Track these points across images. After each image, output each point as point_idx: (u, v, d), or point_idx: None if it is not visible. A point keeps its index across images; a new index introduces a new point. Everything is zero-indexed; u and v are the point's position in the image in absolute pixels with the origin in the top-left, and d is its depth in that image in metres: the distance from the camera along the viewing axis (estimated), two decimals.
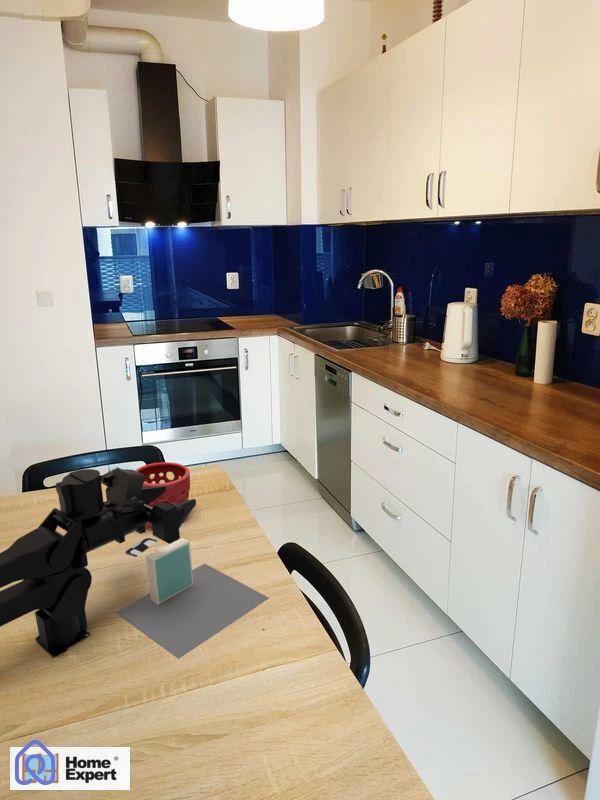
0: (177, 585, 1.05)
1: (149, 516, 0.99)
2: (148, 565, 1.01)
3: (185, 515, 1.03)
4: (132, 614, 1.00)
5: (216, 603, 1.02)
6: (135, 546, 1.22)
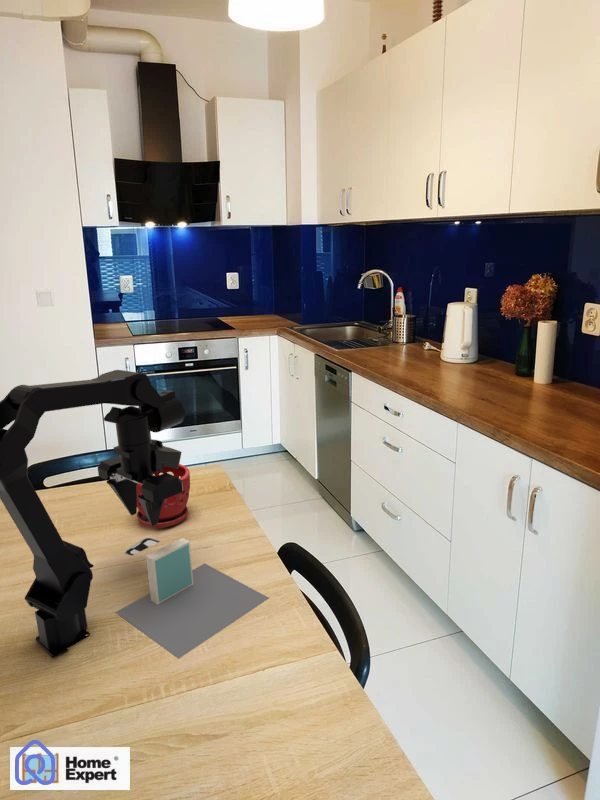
0: (177, 585, 1.05)
1: (152, 477, 1.02)
2: (148, 565, 1.01)
3: (151, 512, 1.02)
4: (132, 614, 1.00)
5: (216, 603, 1.02)
6: (135, 546, 1.22)
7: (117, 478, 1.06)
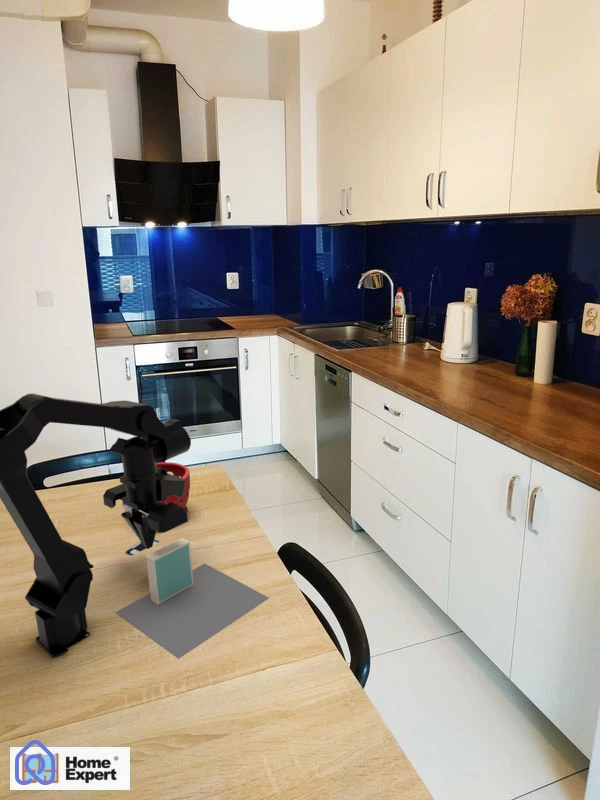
0: (177, 585, 1.05)
1: None
2: (148, 565, 1.01)
3: (146, 536, 1.05)
4: (132, 614, 1.00)
5: (216, 603, 1.02)
6: (135, 546, 1.22)
7: (132, 512, 1.05)
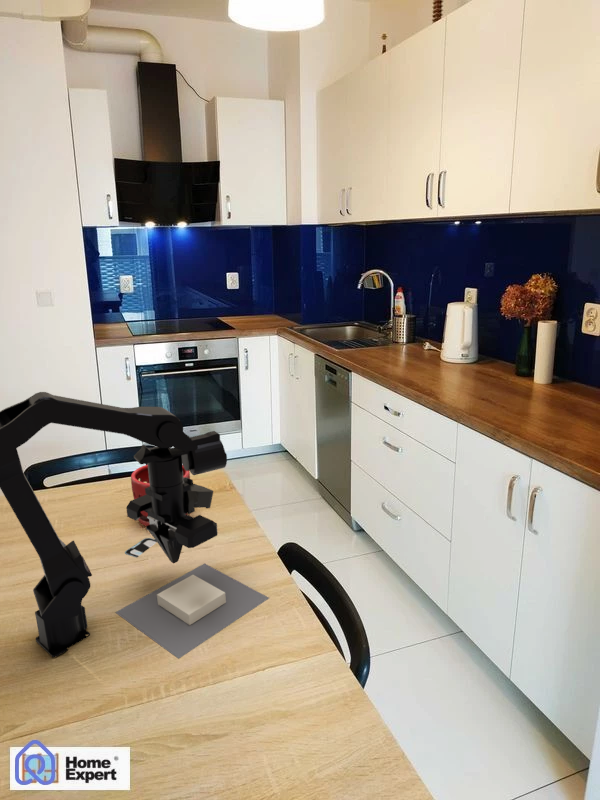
0: None
1: None
2: (182, 613, 0.97)
3: (172, 550, 1.00)
4: (132, 614, 1.00)
5: None
6: (135, 546, 1.22)
7: (158, 525, 1.00)
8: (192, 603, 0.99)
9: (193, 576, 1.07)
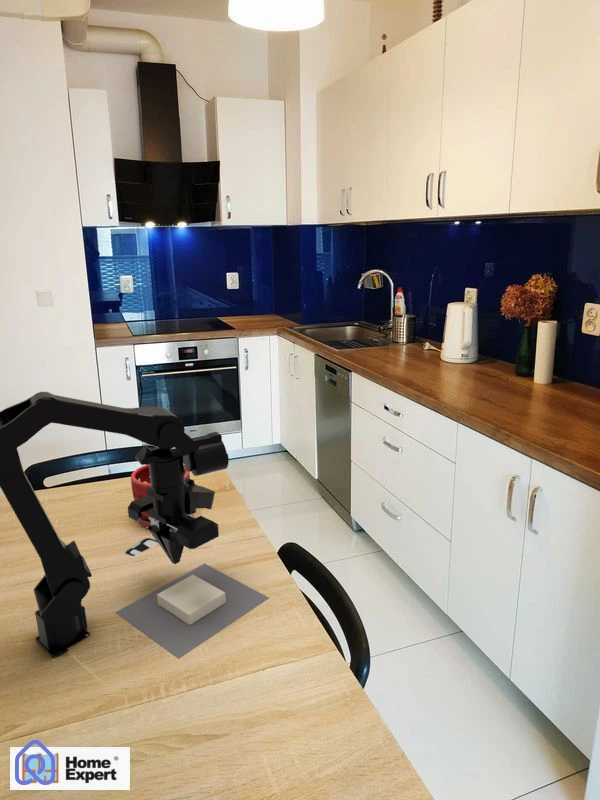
0: None
1: None
2: (182, 613, 0.97)
3: (173, 551, 1.00)
4: (132, 614, 1.00)
5: None
6: (135, 546, 1.22)
7: (159, 525, 1.00)
8: (192, 603, 0.99)
9: (193, 576, 1.07)
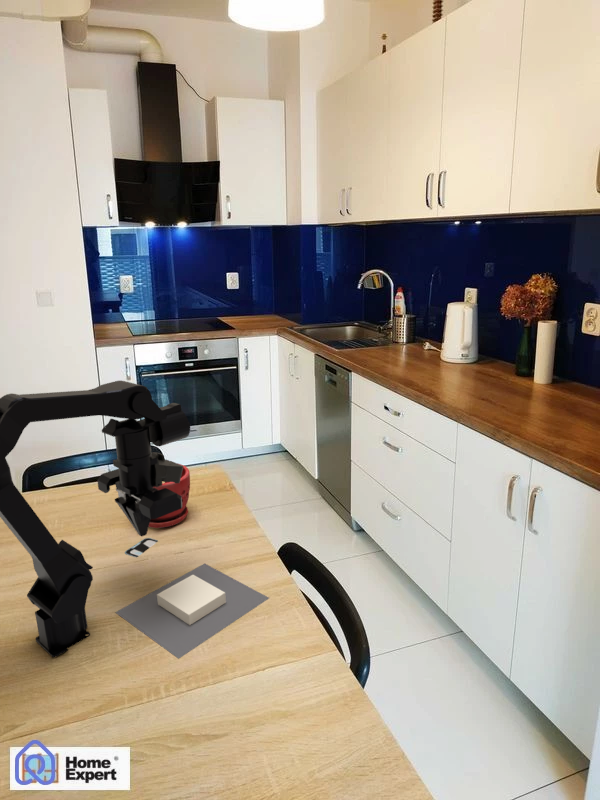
0: None
1: (151, 492, 0.99)
2: (182, 613, 0.97)
3: (139, 523, 1.01)
4: (132, 614, 1.00)
5: None
6: (135, 546, 1.22)
7: (126, 497, 1.01)
8: (192, 603, 0.99)
9: (193, 576, 1.07)
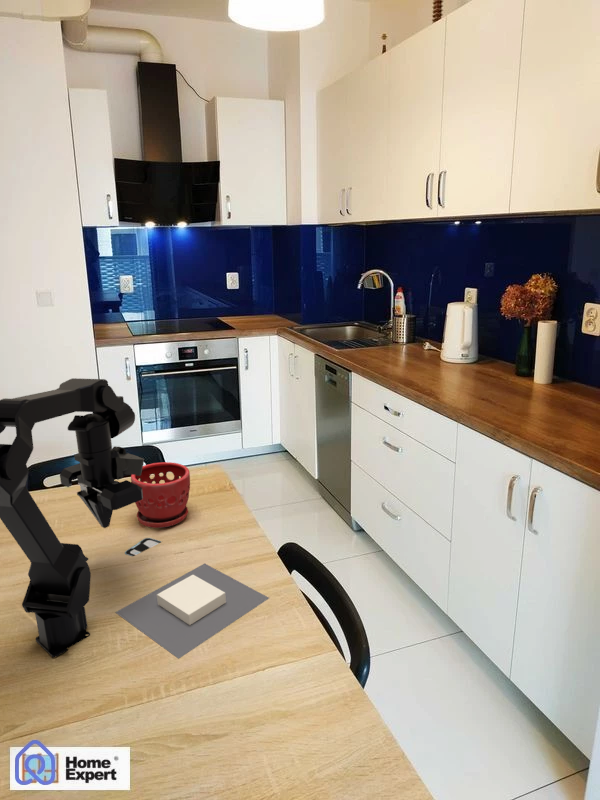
0: None
1: (113, 484, 1.02)
2: (182, 613, 0.97)
3: (101, 515, 1.04)
4: (132, 614, 1.00)
5: None
6: (135, 546, 1.22)
7: (88, 490, 1.04)
8: (192, 603, 0.99)
9: (193, 576, 1.07)
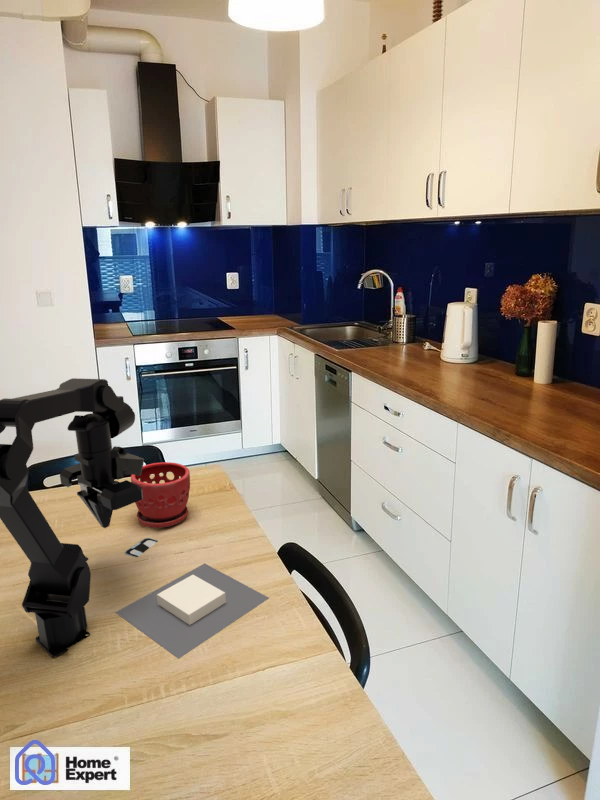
0: None
1: (113, 484, 1.02)
2: (182, 613, 0.97)
3: (101, 515, 1.04)
4: (132, 614, 1.00)
5: None
6: (135, 546, 1.22)
7: (88, 490, 1.04)
8: (192, 603, 0.99)
9: (193, 576, 1.07)
